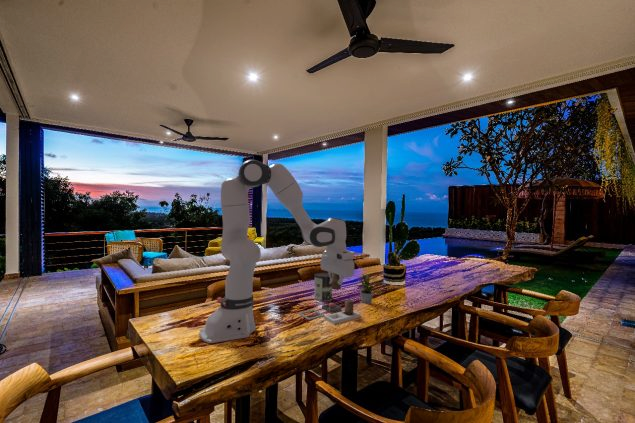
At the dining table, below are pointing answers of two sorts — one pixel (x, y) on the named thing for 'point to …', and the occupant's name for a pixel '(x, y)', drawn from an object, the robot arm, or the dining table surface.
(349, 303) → the billet
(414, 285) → the dining table surface
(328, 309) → the button housing
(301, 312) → the parts tray
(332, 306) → the button
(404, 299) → the dining table surface
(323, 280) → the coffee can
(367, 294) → the house plant
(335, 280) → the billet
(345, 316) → the plate
